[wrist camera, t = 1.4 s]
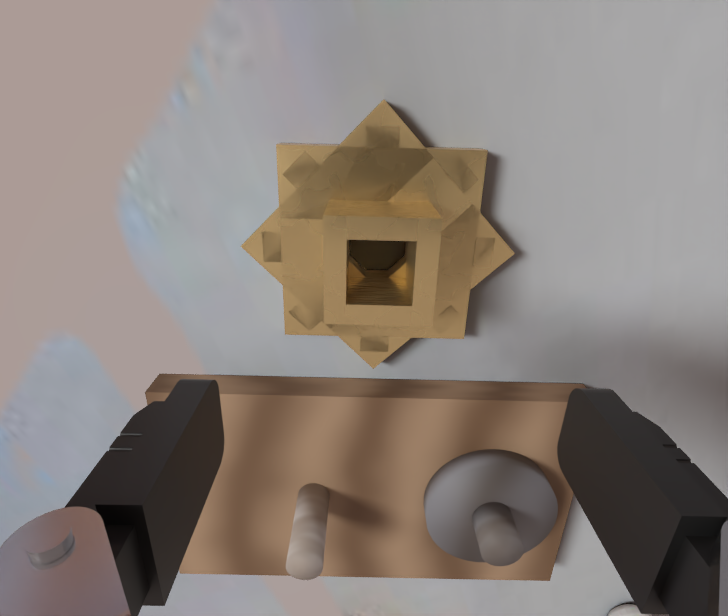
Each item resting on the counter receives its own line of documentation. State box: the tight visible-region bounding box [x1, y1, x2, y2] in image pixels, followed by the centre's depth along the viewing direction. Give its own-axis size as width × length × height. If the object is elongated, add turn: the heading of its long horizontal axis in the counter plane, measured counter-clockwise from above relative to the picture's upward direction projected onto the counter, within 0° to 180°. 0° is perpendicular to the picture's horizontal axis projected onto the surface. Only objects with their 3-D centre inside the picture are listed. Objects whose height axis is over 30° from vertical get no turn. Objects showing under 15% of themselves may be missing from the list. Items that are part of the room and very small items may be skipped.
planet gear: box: [241, 100, 515, 369], centre depth 22 cm, size 14×14×5 cm
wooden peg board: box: [145, 374, 586, 581], centre depth 28 cm, size 26×15×7 cm, turn 89°
